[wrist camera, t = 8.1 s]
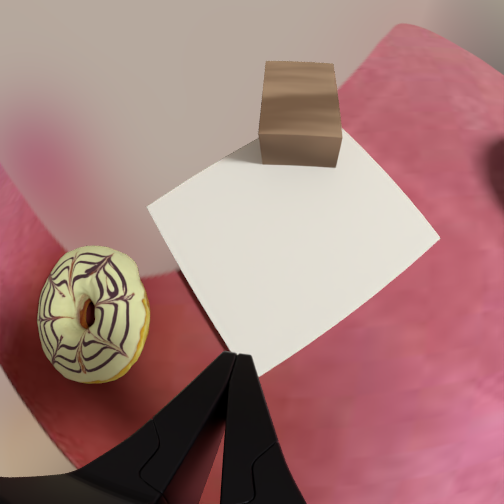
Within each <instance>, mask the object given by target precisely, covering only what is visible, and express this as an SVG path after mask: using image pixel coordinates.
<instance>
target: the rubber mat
mask: <svg viewBox="0 0 504 504" xmlns="http://www.w3.org/2000/svg"><path fill="white" fill-rule="evenodd" d="M342 137H343V138H342V143H341V147H340V152H339V156H338V160H337V165H336V168H328V167H312V166H291V165H262V157H261V150H260V142H259V138H258V139H256V140H254V141H252V142H251V143H249V144H247V145H245V146H244V147H242V148H240V149H238V150H237V151H235V152H233V153H231V154H230V155H228V156H226V157H225V158H223V159H221V160H220V161H218V162H216V163H215V164H213V165H211V166H209V167H208V168H206V169H205V170H203V171H201V172H200V173H198V174H196V175H195V176H193V177H192V178H190V179H188V180H187V181H185V182H184V183H182V184H181V185H179V186H178V187H176V188H174V189H173V190H171V191H170V192H168V193H167V194H165V195H164V196H162V197H161V198H159V199H158V200H156V201H155V202H153V203H152V204H150V205H149V206H147V209H148V211H149V213H150V215H151V216H152V218H153V220H154V222H155V224H156V226H157V227H158V229H159V231H160V233H161V235H162V237H163V239H164V240H165V242H166V244H167V246H168V248H169V249H170V251H171V253H172V255H173V256H174V258H175V260H176V262H177V263H178V265H179V267H180V269H181V271H182V272H183V274H184V276H185V277H186V279H187V281H188V283H189V284H190V286H191V288H192V289H193V291H194V293H195V294H196V296H197V298H198V299H199V301H200V303H201V304H202V306H203V308H204V309H205V311H206V313H207V314H208V316H209V317H210V319H211V321H212V322H213V324H214V326H215V327H216V329H217V330H218V332H219V334H220V335H221V337H222V338H223V340H224V341H225V343H226V345H227V346H228V348H229V349H230V351H231V352H235V353H237V355H238V354H239V353H242V354H250V355H251V356H252V358H253V361H254V364H255V368H256V371H257V374H258V377H259V376H261V375H262V374H264V373H266V372H267V371H269V370H270V369H272V368H273V367H275V366H276V365H278V364H280V363H281V362H283V361H284V360H286V359H287V358H289V357H290V356H292V355H293V354H295V353H296V352H298V351H299V350H301V349H302V348H303V347H305V346H306V345H308V344H309V343H311V342H312V341H314V340H315V339H316V338H318V337H319V336H321V335H322V334H323V333H325V332H326V331H328V330H329V329H330V328H332V327H333V326H334V325H336V324H337V323H339V322H340V321H341V320H343V319H344V318H345V317H347V316H348V315H349V314H351V313H352V312H353V311H354V310H356V309H357V308H358V307H360V306H361V305H362V304H364V303H365V302H366V301H367V300H369V299H370V298H371V297H372V296H374V295H375V294H376V293H377V292H379V291H380V290H381V289H382V288H384V287H385V286H386V285H387V284H389V283H390V282H391V281H392V280H393V279H395V278H396V277H397V276H398V275H399V274H401V273H402V272H403V271H404V270H405V269H406V268H408V267H409V266H410V265H411V264H412V263H413V262H414V261H416V260H417V259H418V258H419V257H420V256H421V255H422V254H424V253H425V252H426V251H427V250H428V249H429V248H430V247H431V246H432V245H433V244H435V243H436V242H437V241H438V240H439V239H440V237H439V235H438V234H437V233H436V232H435V230H434V229H433V228H432V226H431V225H430V224H429V223H428V221H427V220H426V219H425V218H424V216H423V215H422V214H421V213H420V211H419V210H418V209H417V208H416V207H415V205H414V204H413V203H412V202H411V201H410V199H409V198H408V197H407V196H406V195H405V194H404V192H403V191H402V190H401V189H400V188H399V187H398V186H397V184H396V183H395V182H394V181H393V180H392V179H391V178H390V177H389V175H388V174H387V173H386V172H385V171H384V170H383V169H382V168H381V167H380V166H379V165H378V164H377V163H376V162H375V160H374V159H373V158H372V157H371V156H370V155H369V154H368V153H367V152H366V151H365V150H364V149H363V148H362V147H361V146H360V145H359V144H358V143H357V142H356V141H355V140H354V139H353V138H352V137H351V136H350V135H349V134H348V133H347V132H346V131H345V130H343V129H342Z"/></svg>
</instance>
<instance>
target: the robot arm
mask: <svg viewBox="0 0 504 504" xmlns="http://www.w3.org/2000/svg"><path fill="white" fill-rule="evenodd" d="M152 419H153V420H152ZM152 419H150V420H149V421H148V422H147V423H146V424H144V425H143V426H142V427H141V428H140V429H139V430H137V431H136V432H135V433H134V434H132V435H131V436H130V437H128V438H127V439H126V440H124V441H123V442H121V443H120V444H118V445H117V446H116V447H114V448H112V449H111V450H109V451H108V452H106V453H105V454H103V455H101V456H100V457H98V458H97V459H95V460H93V461H92V462H90V463H89V464H87V465H85V466H84V467H82V468H80V469H78V470H75V471H72V472H69V473H65V474H59V475H48V476H36V477H12V478H9V477H0V504H198V503H199V501H200V498H201V495H202V493H203V490H204V487H205V484H206V482H207V479H208V476H209V473H210V471H211V468H212V465H213V462H214V459H215V456H216V454H217V451H218V448H219V445H220V442H221V439H222V437H223V434H224V431H225V438H224V452H223V466H222V480H221V495H220V504H307V503H306V501H305V499H304V498H303V496H302V494H301V492H300V490H299V488H298V487H297V485H296V483H295V481H294V479H293V477H292V475H291V472H290V470H289V468H288V466H287V463H286V461H285V458H284V455H283V453H282V450H281V446H280V443H279V442H278V438H277V435H276V432H275V428H274V425H273V422H272V419H271V416H270V413H269V410H268V406H267V403H266V400H265V397H264V394H263V390H262V387H261V384H260V381H259V377H258V374H257V371H256V368H255V364H254V361H253V358H252V356H251V355H250V354H242V353H239V354H238V355H237V353H235V352H228V351H224V352H222V353H221V354H220V355H219V356H218V357H217V358H216V359H215V360H214V361H213V362H212V363H211V364H210V365H209V366H208V367H207V368H205V369H204V370H203V371H202V372H201V373H200V374H199V375H198V376H197V377H196V378H195V379H194V380H193V381H192V382H191V383H190V384H189V385H187V386H186V387H185V388H184V389H183V390H182V391H181V392H180V393H179V394H178V395H177V396H176V397H174V398H173V399H172V400H171V401H170V402H169V403H168V404H167V405H166V406H165V407H164V408H162V409H161V410H160V411H159V412H158V413H157V414H156V415H155V416H154V417H153V418H152Z"/></svg>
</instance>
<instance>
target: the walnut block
mask: <svg viewBox="0 0 504 504" xmlns="http://www.w3.org/2000/svg"><path fill="white" fill-rule="evenodd" d="M258 135H259V142H260V150H261V157H262V165H291V166H312V167H328V168H336V165H337V160H338V156H339V152H340V147H341V143H342V138H343V137H342V127H341V117H340V109H339V100H338V93H337V85H336V78H335V71H334V65H333V64H329V63H315V62H292V61H266V65H265V75H264V84H263V94H262V103H261V113H260V123H259V133H258Z"/></svg>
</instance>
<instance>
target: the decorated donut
mask: <svg viewBox="0 0 504 504" xmlns="http://www.w3.org/2000/svg"><path fill="white" fill-rule="evenodd" d="M91 302H93V304H94V305H95V322H94V324H93V325H92V326H91V327H90V328H89V327H88V326H89V325H87V322H86V310H87V307H88V305H89V303H91ZM37 323H38V328H39V335H40V339H41V343H42V348H43V350H44V352H45V354H46V356H47V358H48V359H49V360H50V362H51V363H52V364H53V366H54V367H55V368H56V369H57V370H58V371H59V372H60V373H61V374H62V375H63V376H64V377H65V378H68V379H71V380H74V381H77V382H81V383H89V384H91V383H105V382H109V381H114V380H117V379H118V378H120V377H122V376H123V375H125V374H126V373H127V371H128V370H129V369H130V368H131V366H132V365H133V364H134V363H135V362H136V361H137V360H138V358H139V356H140V354H141V352H142V350H143V347H144V344H145V341H146V339H147V336H148V333H149V323H150V306H149V301H148V298H147V293H146V291H145V288H144V286H143V284H142V282H141V280H140V277H139V272H138V267H137V265H136V263H135V262H134V260H133V259H131V258H130V257H129V256H127V255H126V254H124V253H121V252H119V251H116V250H114V249H111V248H109V247H101V246H85V247H80V248H77V249H75V250H73V251H70V252H68V253H66V254H65V255H64V256H63V257H62V258H61V259H60V260H59V261H58V263H57V264H56V266H55V267H54V269H53V270H52V272H51V274H50V275H49V277H48V279H47V281H46V283H45V285H44V287H43V289H42V292H41V295H40V300H39V309H38V317H37Z"/></svg>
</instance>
